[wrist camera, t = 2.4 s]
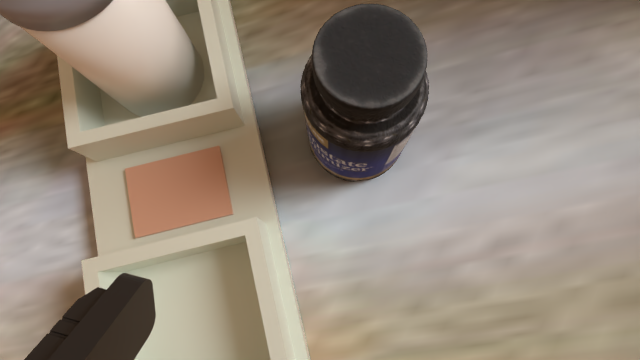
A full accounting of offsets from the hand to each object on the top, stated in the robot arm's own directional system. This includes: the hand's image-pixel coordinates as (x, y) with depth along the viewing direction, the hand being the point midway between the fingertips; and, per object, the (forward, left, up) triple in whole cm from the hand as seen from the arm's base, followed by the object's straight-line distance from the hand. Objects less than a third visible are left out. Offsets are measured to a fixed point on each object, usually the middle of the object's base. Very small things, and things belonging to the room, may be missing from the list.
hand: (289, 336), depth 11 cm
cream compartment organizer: (+11, 0, -15) cm, 18 cm away
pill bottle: (+5, -10, -15) cm, 18 cm away
